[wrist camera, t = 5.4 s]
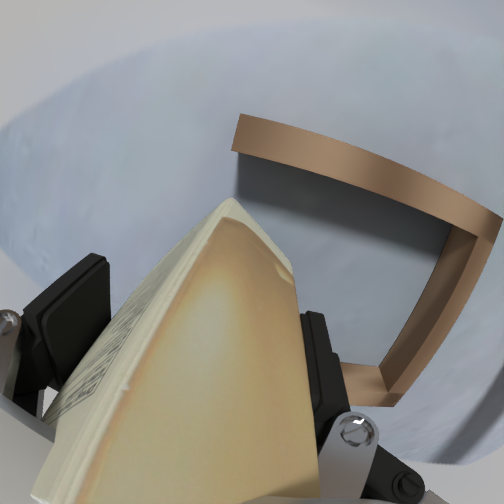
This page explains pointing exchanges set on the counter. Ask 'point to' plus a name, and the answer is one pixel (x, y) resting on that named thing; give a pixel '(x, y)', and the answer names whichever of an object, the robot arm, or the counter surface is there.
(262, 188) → the counter surface
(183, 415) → the skincare box
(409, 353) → the open wooden u frame
